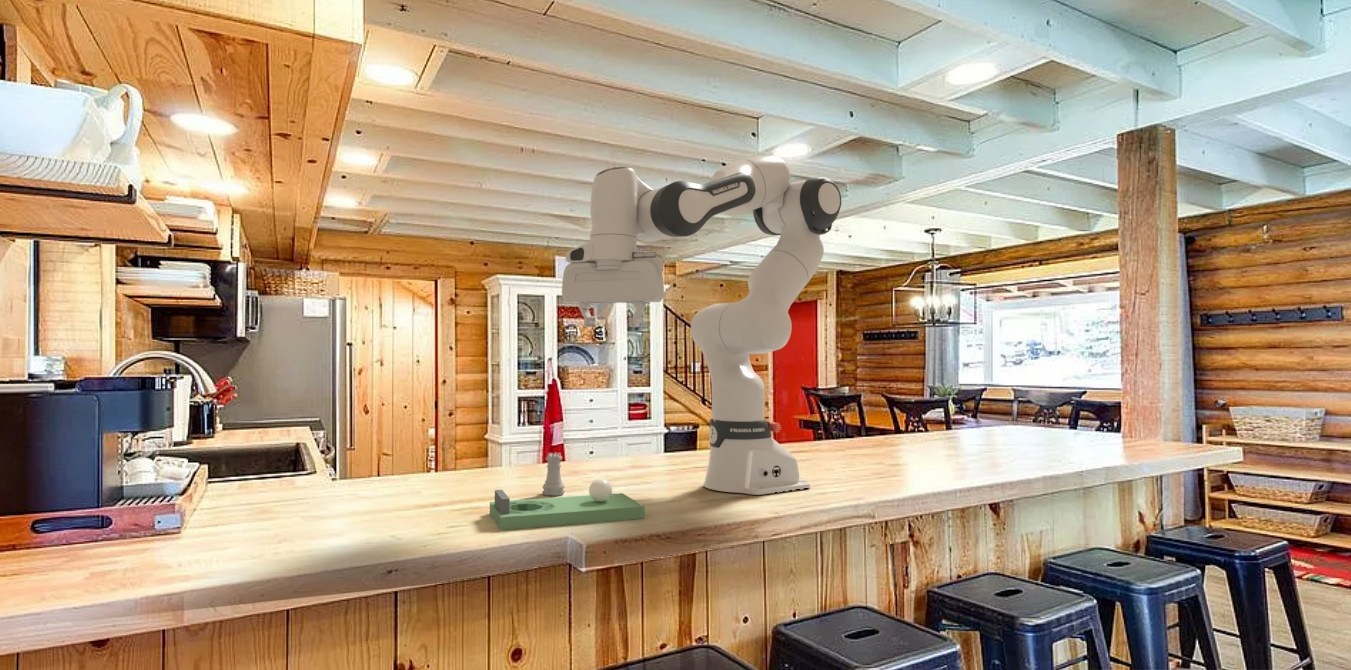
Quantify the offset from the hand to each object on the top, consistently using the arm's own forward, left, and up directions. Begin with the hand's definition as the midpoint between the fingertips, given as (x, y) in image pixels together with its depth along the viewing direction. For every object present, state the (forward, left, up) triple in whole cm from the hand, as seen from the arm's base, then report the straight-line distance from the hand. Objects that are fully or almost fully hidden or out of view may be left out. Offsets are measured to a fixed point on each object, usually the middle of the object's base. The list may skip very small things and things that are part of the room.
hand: (611, 326), depth 134 cm
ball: (+4, +8, -29) cm, 30 cm away
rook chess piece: (+8, -11, -33) cm, 36 cm away
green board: (+10, +8, -33) cm, 35 cm away
